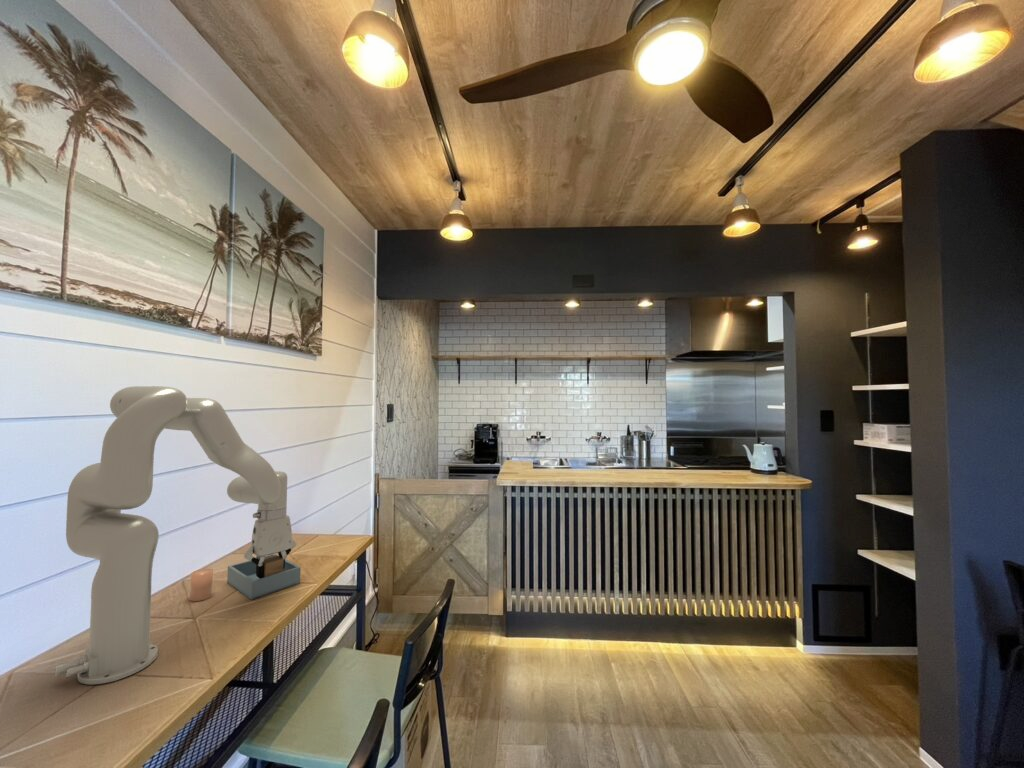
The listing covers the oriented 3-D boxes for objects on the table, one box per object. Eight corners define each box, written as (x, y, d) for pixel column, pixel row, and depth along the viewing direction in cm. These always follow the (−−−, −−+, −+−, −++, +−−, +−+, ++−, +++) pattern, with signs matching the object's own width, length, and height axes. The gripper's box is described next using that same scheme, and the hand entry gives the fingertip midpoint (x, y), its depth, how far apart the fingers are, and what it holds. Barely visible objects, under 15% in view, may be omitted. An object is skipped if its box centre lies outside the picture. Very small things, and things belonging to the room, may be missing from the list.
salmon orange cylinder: (191, 602, 117) (192, 576, 117) (188, 597, 121) (189, 571, 121) (213, 597, 121) (214, 572, 121) (209, 591, 124) (210, 567, 125)
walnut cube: (257, 576, 127) (258, 559, 127) (275, 571, 131) (275, 554, 131) (265, 581, 124) (265, 563, 124) (283, 575, 128) (283, 558, 128)
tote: (251, 600, 119) (252, 582, 119) (227, 582, 130) (227, 566, 130) (300, 583, 130) (300, 567, 130) (274, 568, 141) (274, 553, 141)
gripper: (246, 522, 119) (244, 588, 118) (306, 510, 132) (304, 569, 132) (235, 517, 123) (233, 581, 123) (294, 506, 137) (293, 563, 136)
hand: (270, 574), depth 127 cm, fingers closed on walnut cube, 4 cm apart
